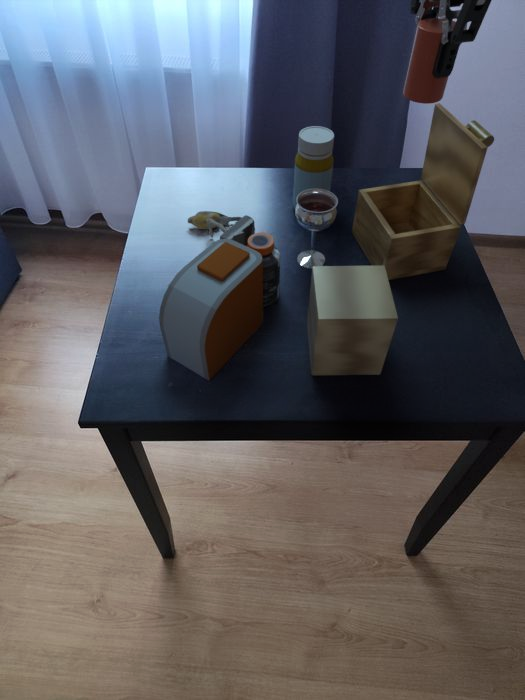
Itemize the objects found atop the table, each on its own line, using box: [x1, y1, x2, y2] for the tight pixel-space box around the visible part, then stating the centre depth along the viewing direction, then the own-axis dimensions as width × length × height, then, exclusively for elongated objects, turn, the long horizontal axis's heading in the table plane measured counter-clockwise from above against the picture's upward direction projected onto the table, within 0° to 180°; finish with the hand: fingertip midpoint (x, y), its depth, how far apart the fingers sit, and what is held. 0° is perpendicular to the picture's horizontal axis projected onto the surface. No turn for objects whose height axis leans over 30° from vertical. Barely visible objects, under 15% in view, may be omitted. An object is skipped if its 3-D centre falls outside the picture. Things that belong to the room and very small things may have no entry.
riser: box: [306, 265, 399, 376], centre depth 67 cm, size 10×10×12 cm
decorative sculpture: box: [187, 210, 256, 246], centre depth 85 cm, size 16×10×7 cm, turn 31°
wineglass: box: [294, 189, 339, 269], centre depth 80 cm, size 7×7×12 cm
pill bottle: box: [247, 232, 281, 307], centre depth 75 cm, size 6×6×11 cm
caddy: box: [351, 179, 462, 281], centre depth 83 cm, size 12×14×9 cm
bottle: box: [292, 125, 335, 211], centre depth 89 cm, size 7×7×15 cm
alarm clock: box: [158, 238, 264, 381], centre depth 68 cm, size 15×8×14 cm, turn 145°
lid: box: [420, 102, 495, 226], centre depth 75 cm, size 13×14×5 cm
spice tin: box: [402, 18, 456, 105], centre depth 60 cm, size 5×5×8 cm
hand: (429, 66), depth 61 cm, fingers closed on spice tin, 5 cm apart
